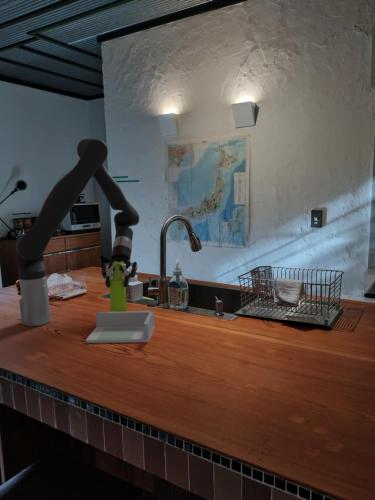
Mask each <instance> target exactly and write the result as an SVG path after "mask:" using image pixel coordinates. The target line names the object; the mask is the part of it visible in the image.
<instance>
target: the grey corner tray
mask: <svg viewBox="0 0 375 500" xmlns="http://www.w3.org/2000/svg"><path fill="white" fill-rule="evenodd" d="M154 313H155V312H154V311H153V310H147V311H146V310H143V311H140V310H138V311H135V310H133V311H128V310H127V311H126V312H111V311H96V312H95V326H96V327H95V328H94V329H93V331H91V333H90V334H89V335H88V336H87V338H86V339H85V344H95V343H96V344H109V343H110V344H112V343H113V344H114V343H116V344H117V343H124V344H125V343H149V342H150V340H151V337H152V335H153V333H154V329H155V318H154V317H155V315H154Z"/></svg>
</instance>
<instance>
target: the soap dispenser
mask: <svg viewBox="0 0 375 500" xmlns="http://www.w3.org/2000/svg"><path fill="white" fill-rule="evenodd" d="M113 265H115V270H114V271H113V276H112V278H111V280H110V288H109V299H110V300H109V301H110V312H127V294H126V293H127V290H126V289H127V287H124V279H125V278H123V273H122V271H120V270H119V265H120V266H125V265H126V264H124V263H121V262H115V263H113Z"/></svg>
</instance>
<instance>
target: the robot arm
mask: <svg viewBox="0 0 375 500" xmlns="http://www.w3.org/2000/svg"><path fill="white" fill-rule="evenodd" d="M76 147H77V148H76V152H77V155H78V158H79V160H78V162H77V163H76V164H75V166H74V167H73V168H72V169H71V170H70V171H69V172H68V173H66V174H65V175H63V177H62V178H60V179H59V181H57V182H56V184H55V185H54V186H53V187H52V190H51V191H50V192H49V194H48V195H47V197H46V199H45V200H44V203H43V205H42V207H41V210H40V212H39V214H38V216H37V218H36V220H35V222H34V223H33V224H32V226H31V227H30V228H29V229H28V231H27V232H26V233H23V234H21V235H19V237H18V238H17V239H16V242H15V253H16V263H17V271H18V278H19V286H20V296H21V298H20V299H19V301H18V302H19V312H20V320H21V321H20V322H21V325H22V326H26V327H38V326H43V325H46V324H48V323H50V322H51V312H50V311H51V310H50V300H49V289H48V280H47V279H48V276H47V269H46V265H45V259H44V258H45V257H44V256H45V255H44V253H45V251H46V249H47V247H48V244H49V242H50V241H51V239H52V236H53V235H54V233H55V232H56V230H57V229H58V228H59V226H60V225H61V224H62V223H63V221H64V219H66V217H67V216H68V214H69V213H70V212H71V210H72V208H73V207H74V206H75V204H76V202H77V201H78V199H79V197H80V196H81V194H82V193H83V191H84V190H85V188H86V186H87V184H88V183H89V182H90V180H91V179H92V178H94V180H95V181H96V182H97V184H98V186H99V187H100V189H101V191H102V193H103V195H104V197H105V198H106V200H107V203H108V204H109V206H110V208H111V209H112V210H113V211H118V212H116V214H114V217H113V222H114V228H115V234H114V235H115V236H114V241H113V244H112V248H111V249H112V250H111V257H110V260H109V262H105V261H103V262H101V276H102V278H103V279H105V282H104V284H105V287H107V289H108V288H109V289H110V280H112V278H113V271H114V270H115V265H113V263H115V262H121V263H124V264H126V265H125V266H120V265H119V270H120V271H122V274H123V273H124V275H125V276H124V278H123V279H124V287H126V288H127V287H128V286H130V285H129V284H130V279H134V278H135V277H136V273H137V270H138V262H137V261H133V262H131V257H132V250H133V237H134V236H133V235H134V231H133V228H131V227H134V226H136V225H138V224H139V223H140V215H139V213H138V211H137V209H136V208H135V207H134V206H133V204H131V203H130V202H129V201H128V200H127V199H126V196H125V194H124V192H123V191H122V188H121V187H120V184H119V183H118V181H116V180H115V179H114V177H113V176H112V174H110V173H109V171H108V169H107V167H106V166H105V164H104V163H105V161H106V160H107V157H108V155H109V150H108V149H109V148H108V145H107V144H106V142H104V141H103V140H102V139H97V138H84V139H82V140H80V141H79V142H78V143H77V146H76ZM130 267H131V271H130V272H128V269H130ZM108 268H109V269H108ZM107 270H108V271H107Z"/></svg>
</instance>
